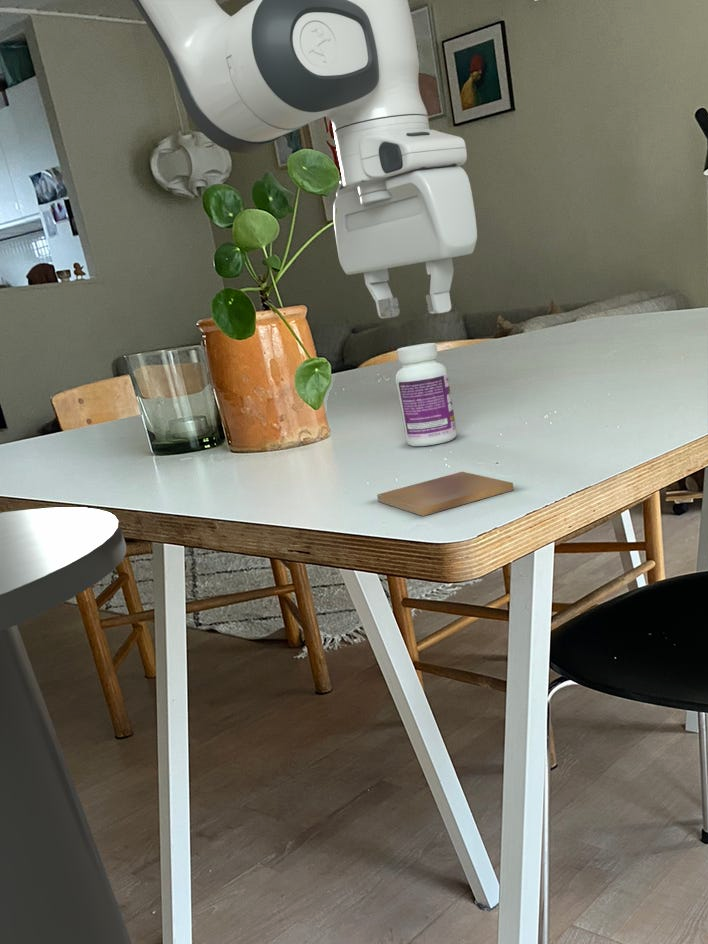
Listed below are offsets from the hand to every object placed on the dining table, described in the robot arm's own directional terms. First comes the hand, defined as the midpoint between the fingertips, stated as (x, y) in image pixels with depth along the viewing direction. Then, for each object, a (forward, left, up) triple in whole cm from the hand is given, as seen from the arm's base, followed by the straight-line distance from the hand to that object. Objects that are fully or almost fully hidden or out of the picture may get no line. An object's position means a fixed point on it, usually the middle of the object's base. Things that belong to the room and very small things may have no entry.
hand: (414, 315), depth 92 cm
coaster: (-11, -23, -13) cm, 29 cm away
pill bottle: (0, 0, -13) cm, 13 cm away
